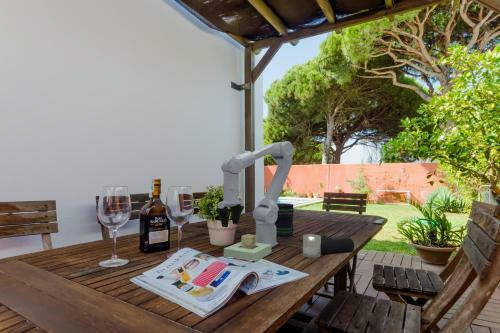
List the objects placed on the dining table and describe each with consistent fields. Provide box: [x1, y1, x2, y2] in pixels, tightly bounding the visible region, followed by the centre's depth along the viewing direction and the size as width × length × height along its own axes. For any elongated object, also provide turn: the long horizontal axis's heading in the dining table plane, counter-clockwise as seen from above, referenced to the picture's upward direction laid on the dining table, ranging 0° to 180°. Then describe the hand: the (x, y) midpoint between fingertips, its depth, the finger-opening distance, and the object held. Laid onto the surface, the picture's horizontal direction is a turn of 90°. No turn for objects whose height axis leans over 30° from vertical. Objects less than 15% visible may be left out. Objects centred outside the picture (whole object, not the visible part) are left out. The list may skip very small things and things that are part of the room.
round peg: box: [302, 233, 322, 259], centre depth 110 cm, size 6×6×7 cm
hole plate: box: [223, 241, 272, 261], centre depth 109 cm, size 14×12×3 cm
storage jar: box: [274, 202, 295, 239], centre depth 144 cm, size 10×10×15 cm
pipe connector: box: [320, 234, 355, 255], centre depth 118 cm, size 12×5×15 cm
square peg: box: [240, 233, 257, 249], centre depth 109 cm, size 4×4×7 cm
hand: (230, 225), depth 115 cm, fingers open, 7 cm apart
